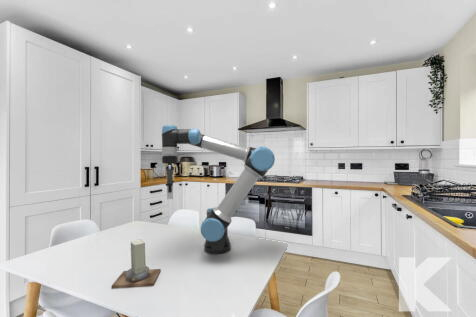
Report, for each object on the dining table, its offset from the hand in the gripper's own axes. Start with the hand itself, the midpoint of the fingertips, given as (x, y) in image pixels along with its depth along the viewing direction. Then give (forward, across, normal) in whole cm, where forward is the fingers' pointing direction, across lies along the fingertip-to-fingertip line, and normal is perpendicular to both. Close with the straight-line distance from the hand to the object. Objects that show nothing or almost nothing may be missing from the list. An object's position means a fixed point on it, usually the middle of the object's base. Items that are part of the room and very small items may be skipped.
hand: (170, 197), depth 116 cm
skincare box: (+28, -17, +13) cm, 35 cm away
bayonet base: (+32, -17, +13) cm, 38 cm away
